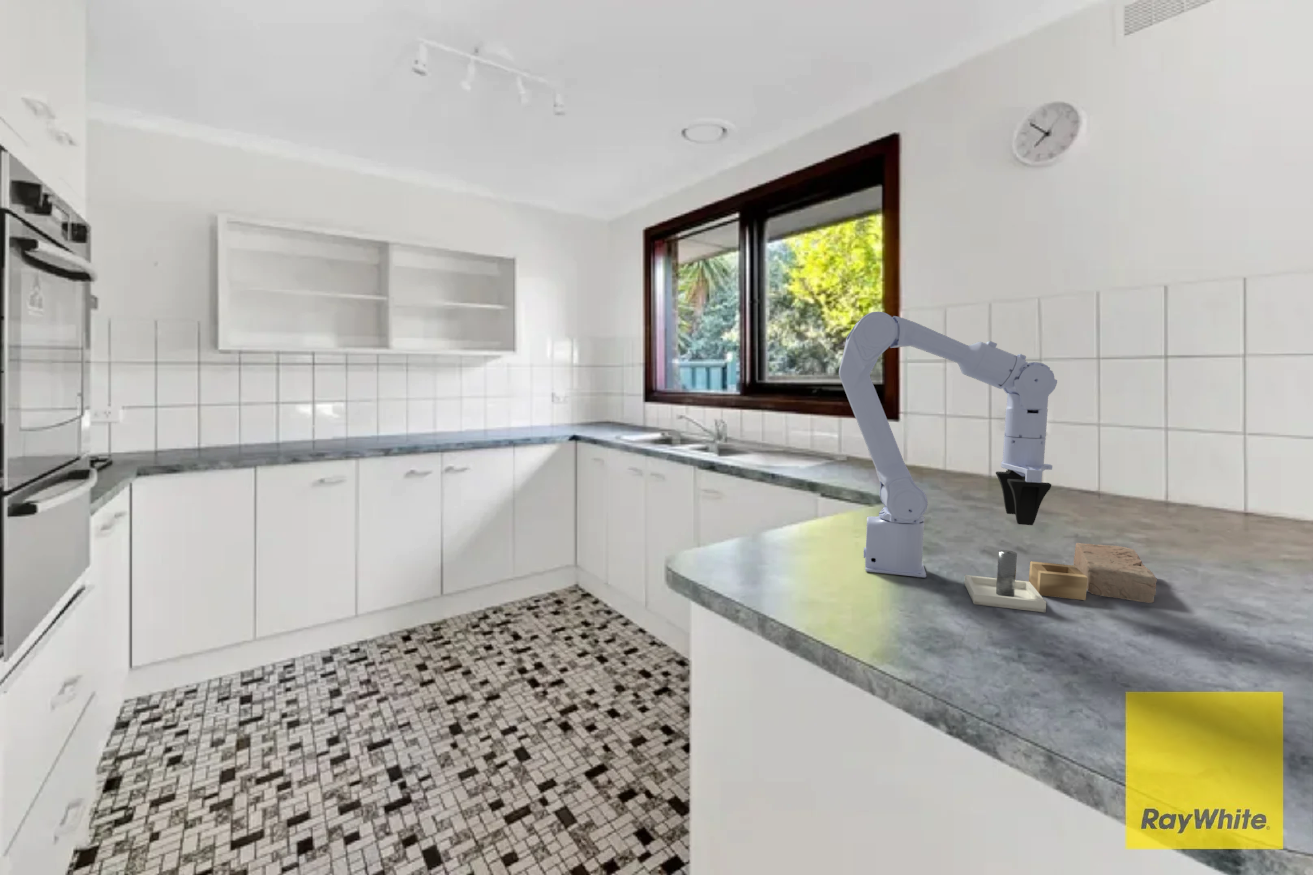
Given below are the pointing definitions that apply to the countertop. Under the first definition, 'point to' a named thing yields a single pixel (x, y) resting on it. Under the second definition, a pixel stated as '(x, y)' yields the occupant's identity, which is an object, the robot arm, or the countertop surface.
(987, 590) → the tray
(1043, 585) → the wooden square frame
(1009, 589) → the cylinder
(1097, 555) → the brick
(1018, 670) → the countertop surface
